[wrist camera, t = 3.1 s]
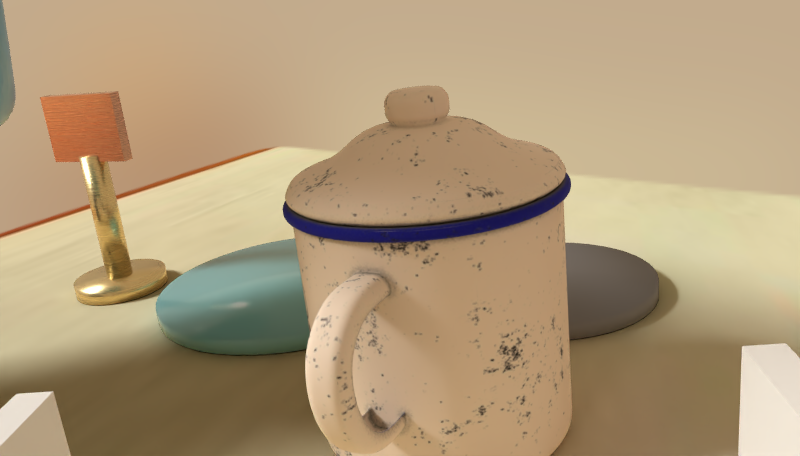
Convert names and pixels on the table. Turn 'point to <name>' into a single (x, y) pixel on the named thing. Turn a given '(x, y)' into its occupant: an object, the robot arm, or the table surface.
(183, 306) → the teal coaster
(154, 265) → the brass tag sign
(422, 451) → the teacup with lid
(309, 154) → the table surface
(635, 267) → the charcoal coaster
